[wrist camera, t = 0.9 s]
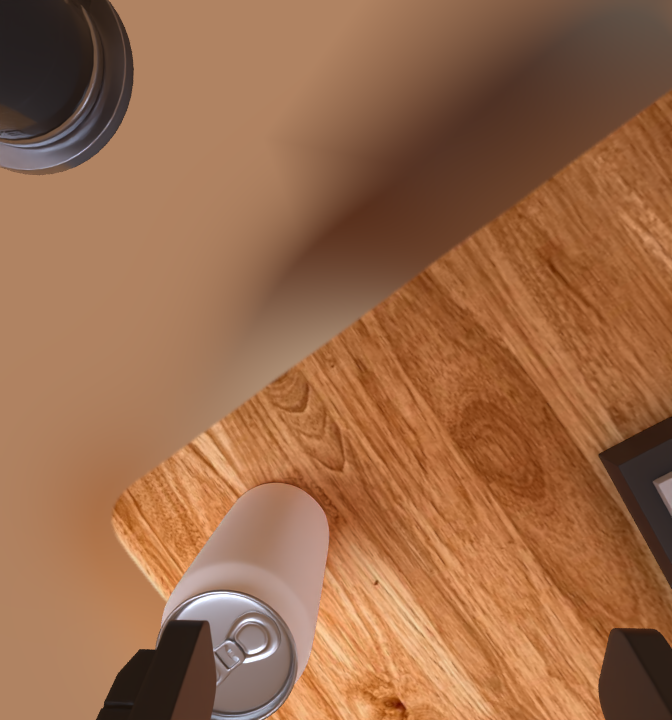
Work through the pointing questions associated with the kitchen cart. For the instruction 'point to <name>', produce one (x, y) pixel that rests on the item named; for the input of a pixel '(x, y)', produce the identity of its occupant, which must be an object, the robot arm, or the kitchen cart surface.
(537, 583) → the kitchen cart surface
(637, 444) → the scale
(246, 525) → the can
